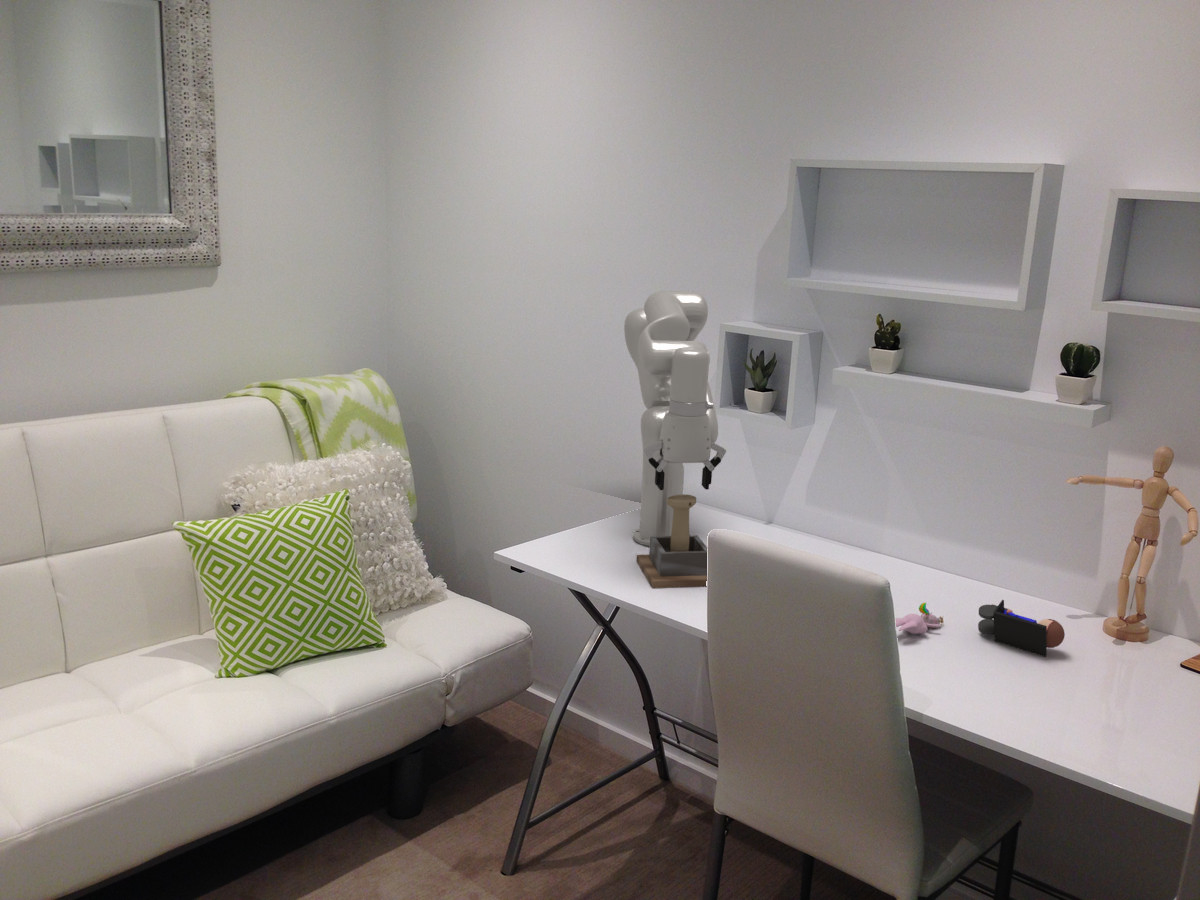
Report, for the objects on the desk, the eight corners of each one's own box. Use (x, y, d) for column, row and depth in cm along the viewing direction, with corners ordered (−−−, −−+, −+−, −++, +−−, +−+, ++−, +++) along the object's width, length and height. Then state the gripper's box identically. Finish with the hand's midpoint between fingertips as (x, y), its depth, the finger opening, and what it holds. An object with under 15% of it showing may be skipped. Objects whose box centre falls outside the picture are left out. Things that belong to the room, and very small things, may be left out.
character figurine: (984, 629, 198) (1064, 655, 188) (968, 637, 193) (1049, 665, 183) (991, 590, 196) (1072, 614, 186) (974, 597, 191) (1057, 622, 181)
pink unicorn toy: (919, 624, 202) (878, 632, 192) (925, 595, 201) (885, 601, 191) (949, 635, 198) (909, 643, 187) (955, 605, 197) (915, 611, 186)
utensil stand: (636, 561, 227) (637, 533, 226) (702, 559, 230) (704, 531, 228) (652, 588, 212) (653, 558, 210) (723, 586, 215) (725, 556, 213)
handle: (697, 566, 221) (700, 498, 218) (676, 572, 217) (679, 503, 214) (680, 560, 225) (684, 493, 221) (659, 566, 220) (662, 498, 217)
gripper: (723, 403, 218) (717, 482, 222) (642, 404, 215) (638, 483, 219) (733, 412, 210) (727, 492, 215) (650, 412, 207) (646, 494, 212)
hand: (682, 487), depth 217 cm, fingers open, 9 cm apart
